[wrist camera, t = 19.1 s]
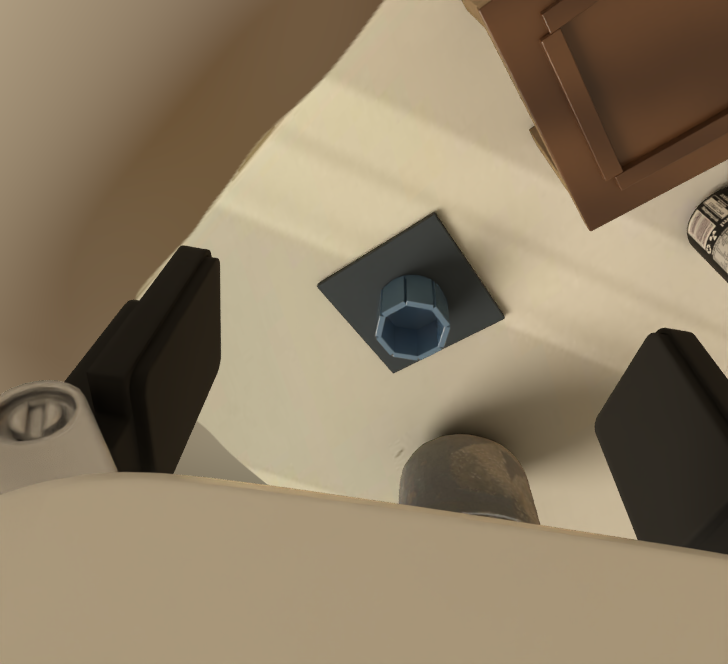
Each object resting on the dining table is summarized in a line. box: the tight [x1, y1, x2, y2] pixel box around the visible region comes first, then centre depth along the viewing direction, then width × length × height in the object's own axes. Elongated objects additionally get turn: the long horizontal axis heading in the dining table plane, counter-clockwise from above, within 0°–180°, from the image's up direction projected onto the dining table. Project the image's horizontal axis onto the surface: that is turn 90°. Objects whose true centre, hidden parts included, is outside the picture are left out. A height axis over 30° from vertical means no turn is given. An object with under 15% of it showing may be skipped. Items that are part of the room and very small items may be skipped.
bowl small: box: [375, 275, 450, 361], centre depth 51 cm, size 7×7×5 cm
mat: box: [317, 212, 505, 373], centre depth 53 cm, size 14×14×1 cm
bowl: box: [399, 434, 540, 525], centre depth 61 cm, size 18×18×15 cm
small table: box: [462, 0, 728, 231], centre depth 31 cm, size 14×14×17 cm
